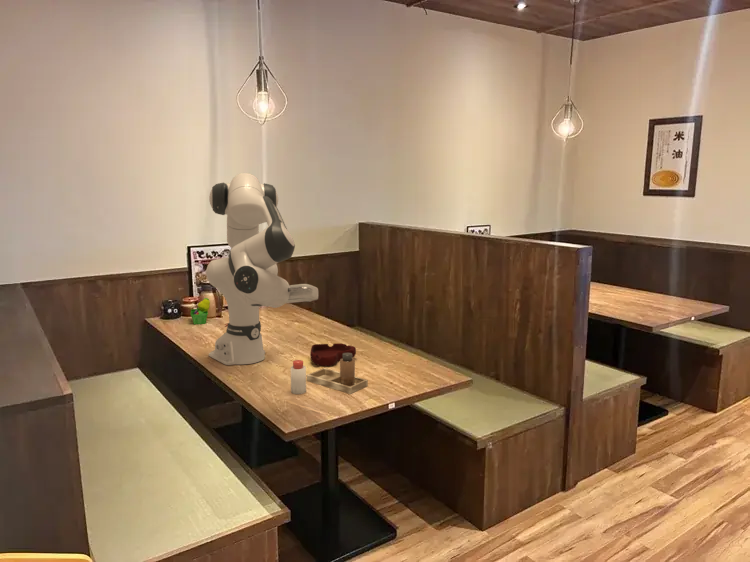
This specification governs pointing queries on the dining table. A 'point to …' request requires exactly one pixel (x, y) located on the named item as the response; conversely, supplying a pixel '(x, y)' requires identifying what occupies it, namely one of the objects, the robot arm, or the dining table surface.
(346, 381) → the brown soy bottle
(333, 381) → the caddy
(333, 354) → the ashtray
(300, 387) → the white shaker
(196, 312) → the fruit basket
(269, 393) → the dining table surface
